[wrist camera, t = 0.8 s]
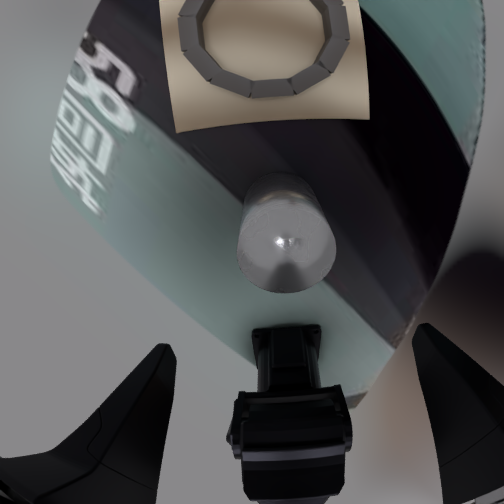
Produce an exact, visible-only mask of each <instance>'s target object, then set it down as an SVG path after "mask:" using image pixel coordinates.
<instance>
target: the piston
mask: <svg viewBox="0 0 504 504" xmlns="http://www.w3.org/2000/svg"><path fill="white" fill-rule="evenodd" d="M335 256H336V242H335V238H334V235H333V233H332V231H331V228H330V226H329V224H328V222H327V220H326V217H325V215H324V213H323V211H322V209H321V206H320V204H319V202H318V200H317V198H316V196H315V194H314V192H313V190H312V188H311V187H310V185H309V184H308V183H307V182H306V181H305V180H303V179H302V178H300V177H299V176H297V175H294V174H291V173H287V172H275V173H270V174H267V175H265V176H263V177H261V178H259V179H258V180H256V181H255V182H254V183H253V184H252V185H251V187H250V188H249V190H248V191H247V193H246V196H245V200H244V206H243V212H242V219H241V225H240V232H239V239H238V245H237V260H238V264H239V266H240V269H241V271H242V272H243V274H244V275H245V276H246V278H247V279H248V280H249V281H251V282H252V283H253V284H255V285H256V286H258V287H260V288H262V289H264V290H267V291H270V292H275V293H294V292H299V291H302V290H305V289H307V288H310V287H312V286H313V285H315V284H317V283H318V282H319V281H321V280H322V279H323V278H324V277H325V276H326V275H327V273H328V272H329V271H330V269H331V267H332V265H333V263H334V260H335Z"/></svg>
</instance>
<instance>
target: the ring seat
mask: <svg viewBox="0 0 504 504" xmlns="http://www.w3.org/2000/svg"><path fill="white" fill-rule="evenodd" d="M159 3H160V15H161V25H162V35H163V44H164V52H165V60H166V68H167V76H168V83H169V90H170V96H171V103H172V109H173V116H174V122H175V128H176V133H179V132H185V131H190V130H196V129H203V128H209V127H216V126H224V125H232V124H241V123H250V122H261V121H274V120H292V119H368V120H370V119H369V91H368V75H367V63H366V52H365V43H364V35H363V28H362V21H361V15H360V9H359V3H358V0H159Z"/></svg>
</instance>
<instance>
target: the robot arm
mask: <svg viewBox="0 0 504 504" xmlns="http://www.w3.org/2000/svg"><path fill="white" fill-rule="evenodd" d="M315 330H316V331H315ZM256 334H258V335H256ZM320 340H321V327H320V326H318V325H313V326H301V327H288V328H273V329H256V330H253V331H252V342H253V348H254V354H255V360H256V366H257V369H258V390H257V392H245V391H239V394H238V399H236V400H235V401H234V411H233V418H232V421H231V424H230V427H229V430H228V433H227V436H226V441H227V442H228V443H229V444H230V445H231V446H232V450H233V454H234V457H235V459H241V466H242V482H243V486H244V487H243V489H244V492H245V494H246V495H247V497H248V498H249V500H250V501H257V502H258V503H259V504H324V503H325V502H326V501H327V500H328V498H329V497H330V496H335V495H338V494H339V493H340V491H341V489H342V487H343V485H344V483H345V482H344V481H345V479H344V473H345V452H348V451H350V449H351V446H352V437H353V435H352V423H351V418H350V414H349V411H348V408H347V404H346V401H345V398H344V395H343V391H342V388H341V385H340V384H339V385H334V386H331V387H323V388H321V382H320V375H319V368H318V356H319V348H320ZM412 347H413V351H414V356H415V361H416V366H417V372H418V376H419V381H420V385H421V388H422V392H423V395H424V399H425V403H426V407H427V411H428V415H429V419H430V423H431V428H432V432H433V437H434V442H435V447H436V453H437V458H438V464H439V472H440V479H441V487H442V495H443V504H462V503H465V502H467V501H470V500H473V499H475V502H473V503H471V504H504V386H503V385H502V384H501V383H500V382H499V381H497V380H496V379H495V378H494V377H493V376H492V375H490V374H489V373H488V372H487V371H486V370H485V369H484V368H482V367H481V366H480V365H479V364H478V363H477V362H476V361H474V360H473V359H472V358H471V357H470V356H469V355H467V354H466V353H465V352H464V351H463V350H461V349H460V348H459V347H458V346H456V345H455V344H454V343H453V342H452V341H450V340H449V339H448V338H447V337H446V336H444V335H443V334H442V333H441V332H439V331H438V330H437V329H436V328H434V327H433V326H432V325H431V324H429V323H424V324H420V325H418V327H417V329H416V331H415V334H414V336H413V339H412ZM176 365H177V360H176V356H175V354H174V352H173V350H172V348H171V346H170V345H169V344H164V343H159V344H157V345H156V346H155V347H154V348H153V349H152V350H151V352H150V353H149V354H148V355H147V356H146V357H145V358H144V359H143V360H142V361H141V362H140V363H139V364H138V365H137V367H136V368H135V369H134V370H133V371H132V372H131V373H130V374H129V375H128V376H127V377H126V378H125V379H124V381H123V382H122V383H121V384H120V385H119V386H118V387H117V388H116V389H115V390H114V391H113V393H111V394H110V396H109V397H108V398H107V399H106V400H105V401H104V402H103V403H102V404H101V405H100V408H97V409H96V410H95V412H94V413H93V414H92V415H91V416H90V417H89V418H88V419H87V420H86V421H85V422H84V423H83V424H82V425H81V426H79V427H78V428H77V429H76V430H75V431H74V432H73V433H72V434H70V435H69V436H68V437H67V438H66V439H65V440H63V441H62V442H61V443H60V444H59V445H58V446H56V447H55V448H54V449H52V450H50V451H47V452H44V453H39V454H33V455H27V456H21V457H14V458H2V457H0V504H155V503H156V497H157V489H158V483H159V476H160V470H161V464H162V458H163V452H164V446H165V440H166V435H167V430H168V424H169V419H170V414H171V409H172V404H173V397H174V386H175V375H176Z"/></svg>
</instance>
